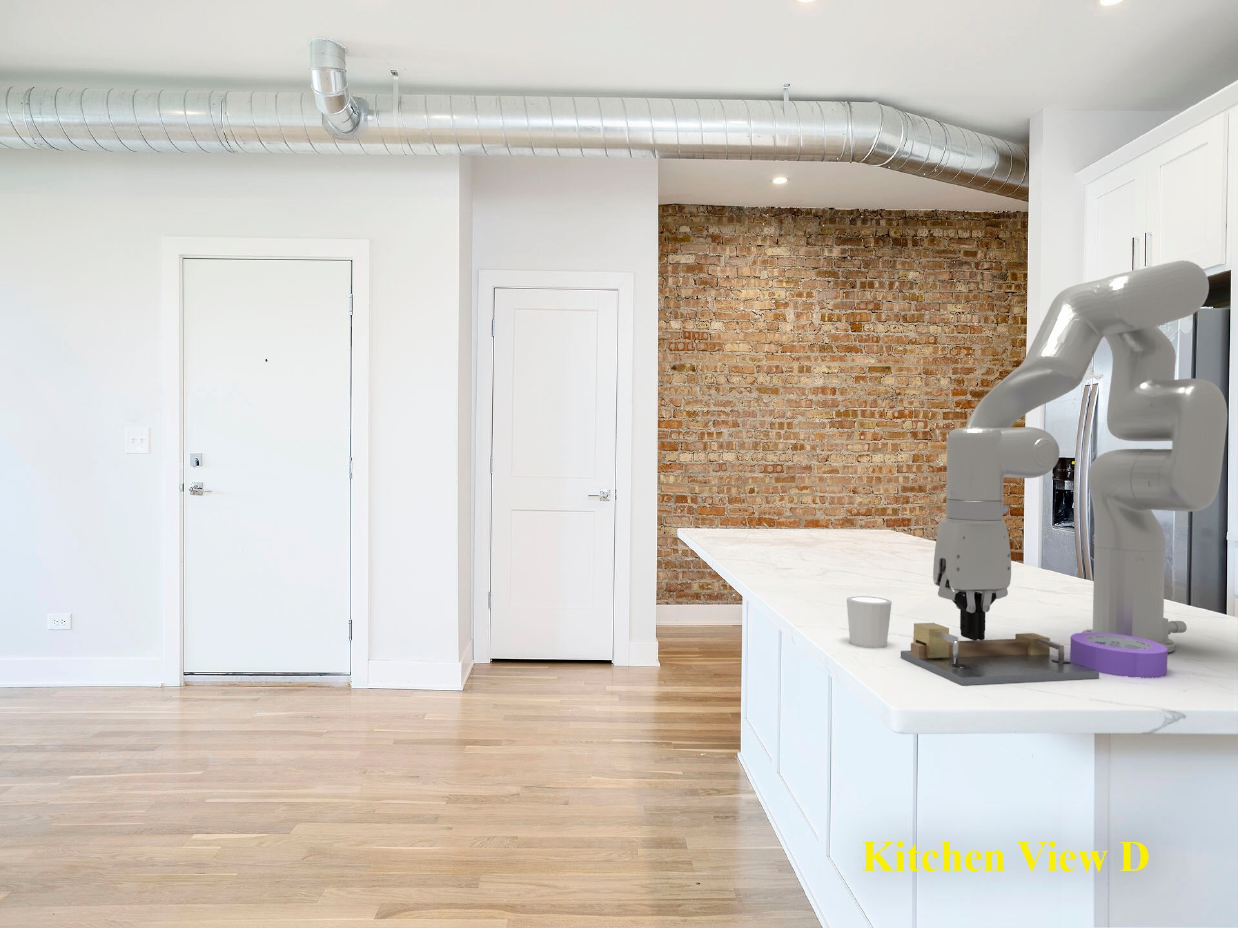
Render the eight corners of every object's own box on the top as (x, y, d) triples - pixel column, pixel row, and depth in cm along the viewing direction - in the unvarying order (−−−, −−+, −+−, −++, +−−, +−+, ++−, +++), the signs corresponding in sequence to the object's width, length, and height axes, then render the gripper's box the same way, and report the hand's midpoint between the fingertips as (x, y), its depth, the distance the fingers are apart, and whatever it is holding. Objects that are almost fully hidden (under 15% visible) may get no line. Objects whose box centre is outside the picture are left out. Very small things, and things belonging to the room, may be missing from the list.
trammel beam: (1033, 648, 115) (1033, 633, 115) (1072, 661, 108) (1072, 644, 107) (908, 653, 110) (908, 637, 110) (940, 667, 103) (940, 650, 103)
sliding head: (932, 650, 112) (933, 622, 112) (967, 664, 104) (967, 634, 104) (913, 651, 111) (913, 623, 111) (946, 665, 103) (947, 635, 103)
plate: (1023, 652, 117) (1023, 645, 117) (1098, 678, 103) (1099, 670, 103) (900, 657, 112) (900, 650, 112) (962, 685, 99) (962, 677, 99)
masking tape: (1188, 678, 105) (1189, 650, 105) (1113, 680, 103) (1114, 652, 103) (1120, 656, 116) (1120, 631, 116) (1051, 658, 114) (1052, 632, 114)
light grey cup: (894, 649, 117) (895, 604, 117) (847, 646, 118) (848, 602, 118) (887, 639, 124) (888, 596, 124) (843, 637, 125) (844, 594, 125)
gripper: (1000, 510, 116) (999, 630, 116) (913, 510, 113) (911, 634, 113) (1037, 514, 109) (1035, 642, 109) (944, 514, 105) (942, 646, 106)
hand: (972, 637), depth 111 cm, fingers closed
